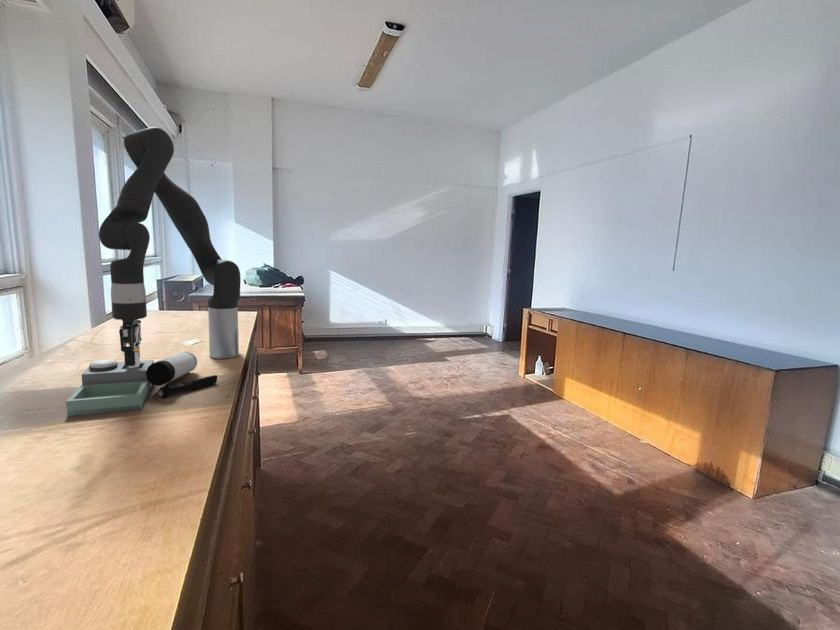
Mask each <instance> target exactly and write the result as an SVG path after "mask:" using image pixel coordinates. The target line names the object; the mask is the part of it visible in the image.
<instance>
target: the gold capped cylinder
mask: <svg viewBox="0 0 840 630" xmlns="http://www.w3.org/2000/svg"><path fill="white" fill-rule="evenodd" d="M129 346H130V345H129ZM129 346H127V347H129ZM139 348H140V345H139V346H135V365H134V366H126V368H127V369H131V368H140V361H141V360H140V359H141V358H139Z"/></svg>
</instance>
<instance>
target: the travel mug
mask: <svg viewBox="0 0 840 630" xmlns="http://www.w3.org/2000/svg"><path fill="white" fill-rule="evenodd" d="M197 366H198V360H197V357H196V355H195V354H194V353H191V352H190V351H182V352H179V353H177V354H175V355H170V356H169V357H166V358H163V359H161V360H158V361H156V362H154V363H153V364H151V365H150V366H149V367H148V369H147V372H146V376H147V379H148V381H149V382H150V383H151V384H153V385H152V386H155V387H160V386H165V385H167V384H168V383H169V384H170V382H172V381H174V380H176V379H178V378H181V377H183V376H184V375H186V374H188V373H190V372H192V371H194V370H195V369H196V367H197Z"/></svg>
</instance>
